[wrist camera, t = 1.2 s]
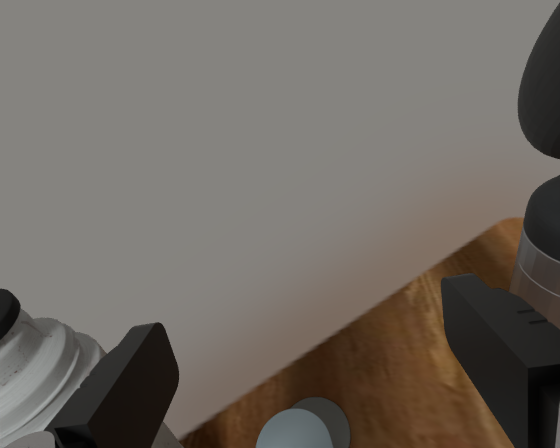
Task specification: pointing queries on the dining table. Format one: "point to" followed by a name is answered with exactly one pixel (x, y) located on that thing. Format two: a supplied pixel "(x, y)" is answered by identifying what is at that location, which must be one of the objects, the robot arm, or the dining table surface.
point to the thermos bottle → (43, 371)
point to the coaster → (328, 419)
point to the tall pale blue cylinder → (294, 431)
